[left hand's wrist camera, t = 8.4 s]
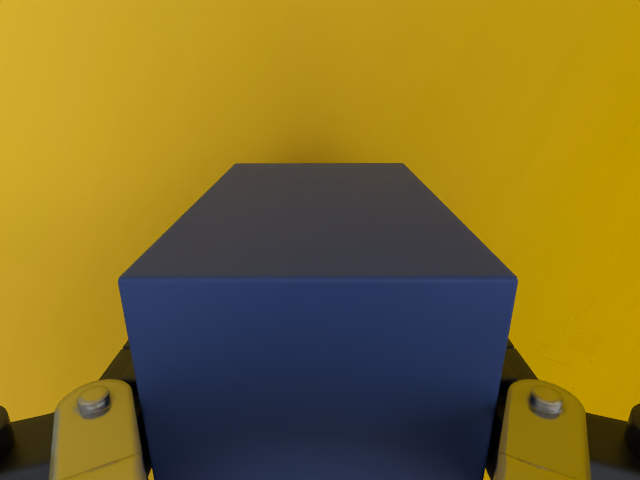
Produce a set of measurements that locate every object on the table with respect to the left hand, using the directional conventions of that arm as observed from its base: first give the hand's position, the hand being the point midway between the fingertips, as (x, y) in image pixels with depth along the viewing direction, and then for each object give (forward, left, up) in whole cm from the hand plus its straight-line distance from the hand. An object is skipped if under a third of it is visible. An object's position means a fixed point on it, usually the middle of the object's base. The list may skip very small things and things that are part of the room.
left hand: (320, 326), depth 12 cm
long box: (+7, +4, -6) cm, 10 cm away
